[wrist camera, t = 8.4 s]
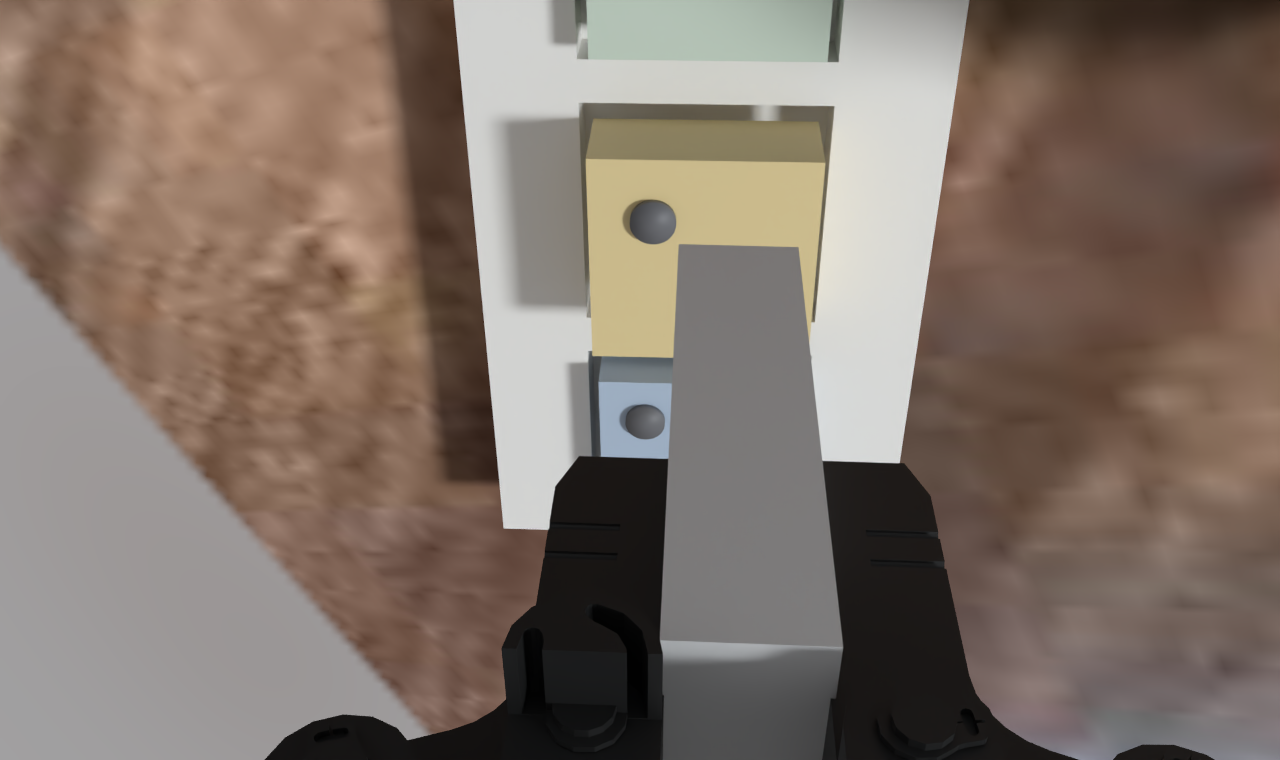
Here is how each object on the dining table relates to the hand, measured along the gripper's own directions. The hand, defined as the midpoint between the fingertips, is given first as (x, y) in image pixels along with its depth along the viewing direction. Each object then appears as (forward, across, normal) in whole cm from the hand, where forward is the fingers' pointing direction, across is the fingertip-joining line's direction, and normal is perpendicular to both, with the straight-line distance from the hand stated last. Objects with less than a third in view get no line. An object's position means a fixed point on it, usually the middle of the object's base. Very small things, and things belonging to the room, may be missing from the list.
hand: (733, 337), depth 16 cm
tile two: (+17, 0, -8) cm, 19 cm away
